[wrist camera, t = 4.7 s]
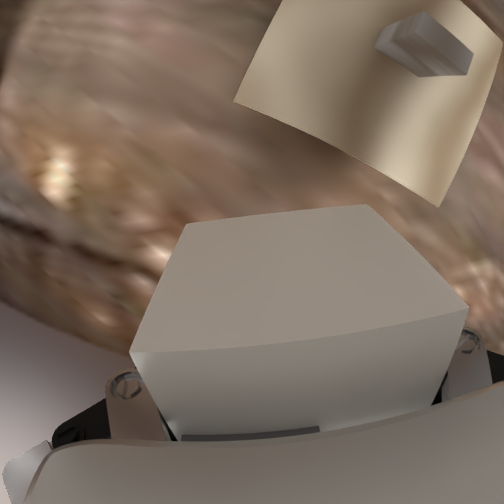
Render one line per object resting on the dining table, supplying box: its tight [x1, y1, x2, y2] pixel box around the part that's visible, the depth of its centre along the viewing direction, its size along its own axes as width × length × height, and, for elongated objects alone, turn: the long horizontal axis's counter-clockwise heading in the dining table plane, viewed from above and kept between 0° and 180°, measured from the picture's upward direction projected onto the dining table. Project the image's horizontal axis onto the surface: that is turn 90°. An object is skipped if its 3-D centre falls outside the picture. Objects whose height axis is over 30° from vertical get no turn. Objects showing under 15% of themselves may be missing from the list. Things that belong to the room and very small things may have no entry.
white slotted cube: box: [129, 204, 470, 442], centre depth 9 cm, size 6×6×6 cm
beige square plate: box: [234, 0, 503, 208], centre depth 12 cm, size 14×14×6 cm
